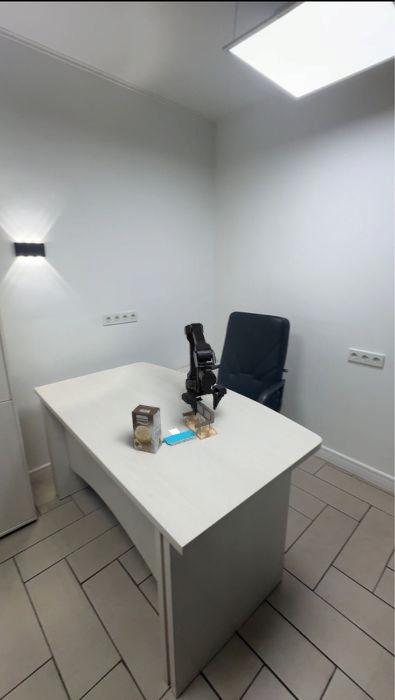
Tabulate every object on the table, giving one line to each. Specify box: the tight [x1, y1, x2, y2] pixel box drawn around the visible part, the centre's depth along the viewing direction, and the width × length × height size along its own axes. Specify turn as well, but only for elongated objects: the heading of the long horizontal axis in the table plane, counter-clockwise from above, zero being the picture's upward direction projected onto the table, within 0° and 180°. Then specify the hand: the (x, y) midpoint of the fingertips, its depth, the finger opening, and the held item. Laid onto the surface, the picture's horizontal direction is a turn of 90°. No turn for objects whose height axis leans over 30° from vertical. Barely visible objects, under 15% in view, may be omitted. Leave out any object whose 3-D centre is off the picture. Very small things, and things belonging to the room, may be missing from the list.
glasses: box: [182, 400, 215, 428], centre depth 128 cm, size 8×12×5 cm
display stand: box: [184, 414, 218, 440], centre depth 130 cm, size 8×14×5 cm, turn 28°
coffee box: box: [131, 403, 163, 454], centre depth 116 cm, size 9×6×16 cm
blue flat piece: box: [162, 427, 197, 447], centre depth 126 cm, size 20×12×2 cm, turn 118°
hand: (204, 412), depth 129 cm, fingers open, 9 cm apart
